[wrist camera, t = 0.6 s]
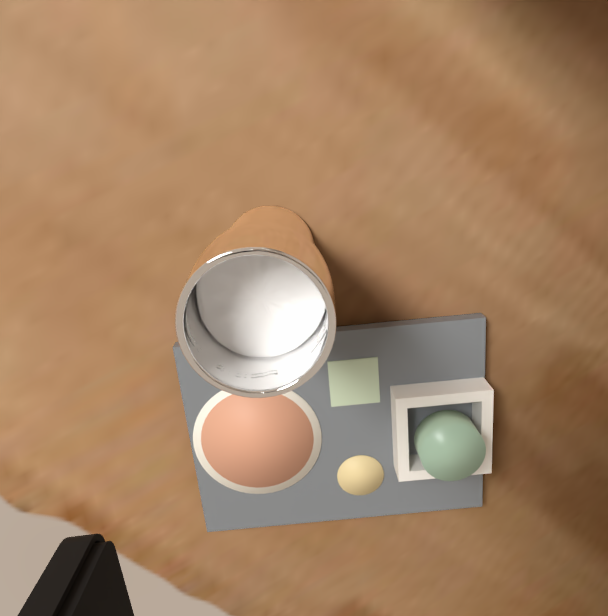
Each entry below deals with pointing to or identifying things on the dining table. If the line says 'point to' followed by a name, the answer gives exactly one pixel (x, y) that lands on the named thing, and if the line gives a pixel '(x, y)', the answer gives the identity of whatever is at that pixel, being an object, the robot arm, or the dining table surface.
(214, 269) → the beer glass
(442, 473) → the button
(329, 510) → the picture board
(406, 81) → the dining table surface
